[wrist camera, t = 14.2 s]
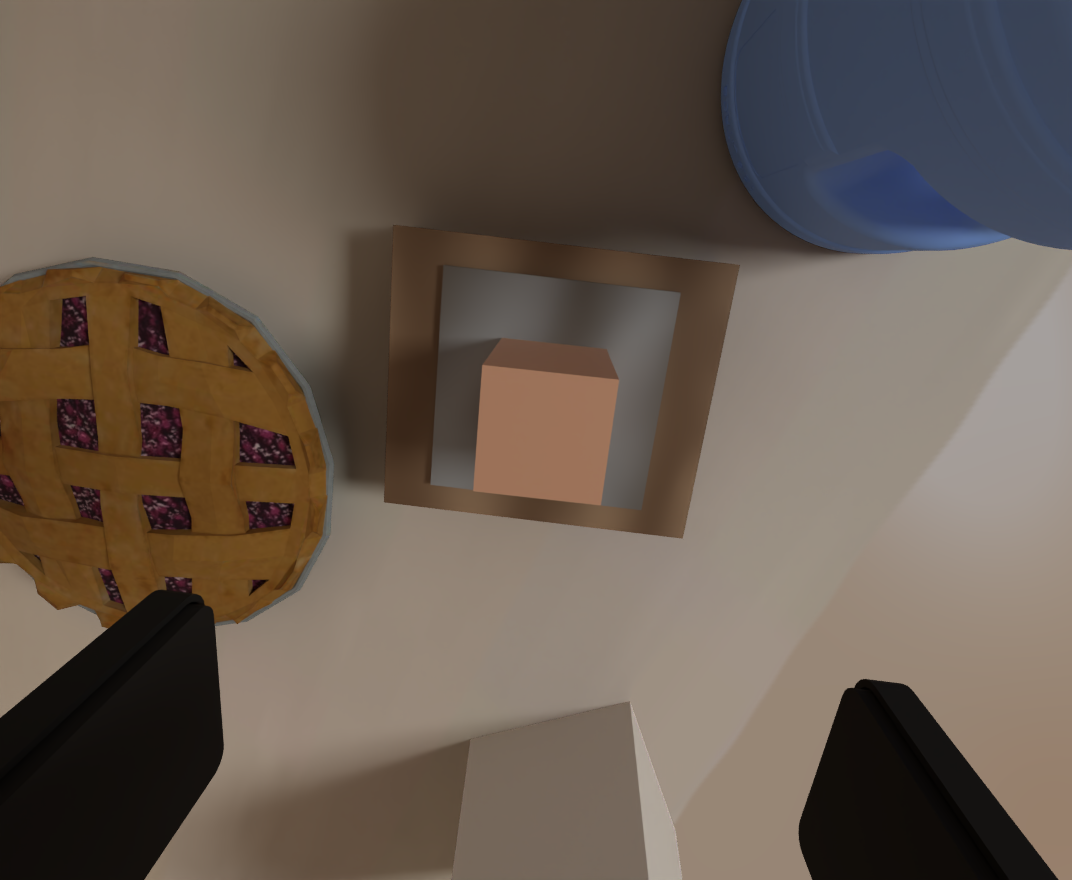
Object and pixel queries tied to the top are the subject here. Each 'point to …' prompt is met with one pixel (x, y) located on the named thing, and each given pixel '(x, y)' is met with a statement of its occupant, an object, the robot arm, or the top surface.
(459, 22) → the top surface
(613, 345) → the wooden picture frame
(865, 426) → the top surface
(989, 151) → the water jug
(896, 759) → the robot arm
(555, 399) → the terracotta block
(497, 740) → the milk
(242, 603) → the pie
